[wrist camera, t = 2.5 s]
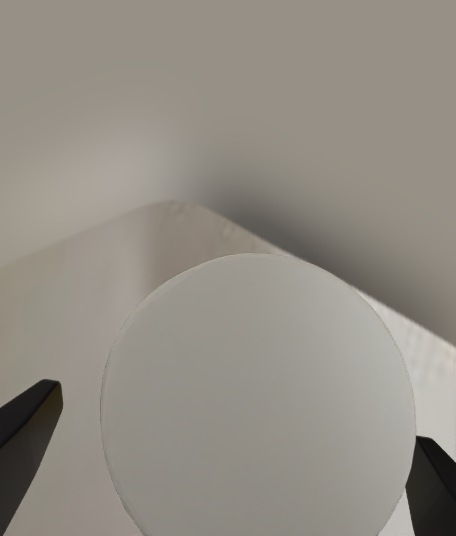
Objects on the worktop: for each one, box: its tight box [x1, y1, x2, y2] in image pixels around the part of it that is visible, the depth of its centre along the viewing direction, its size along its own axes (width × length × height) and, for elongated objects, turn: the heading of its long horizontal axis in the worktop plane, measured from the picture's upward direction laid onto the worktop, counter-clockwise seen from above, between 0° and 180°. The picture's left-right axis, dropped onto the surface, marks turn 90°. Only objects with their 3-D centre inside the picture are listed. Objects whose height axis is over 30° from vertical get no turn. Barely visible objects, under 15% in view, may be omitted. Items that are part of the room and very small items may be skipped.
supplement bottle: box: [100, 253, 416, 536], centre depth 12 cm, size 7×7×13 cm
